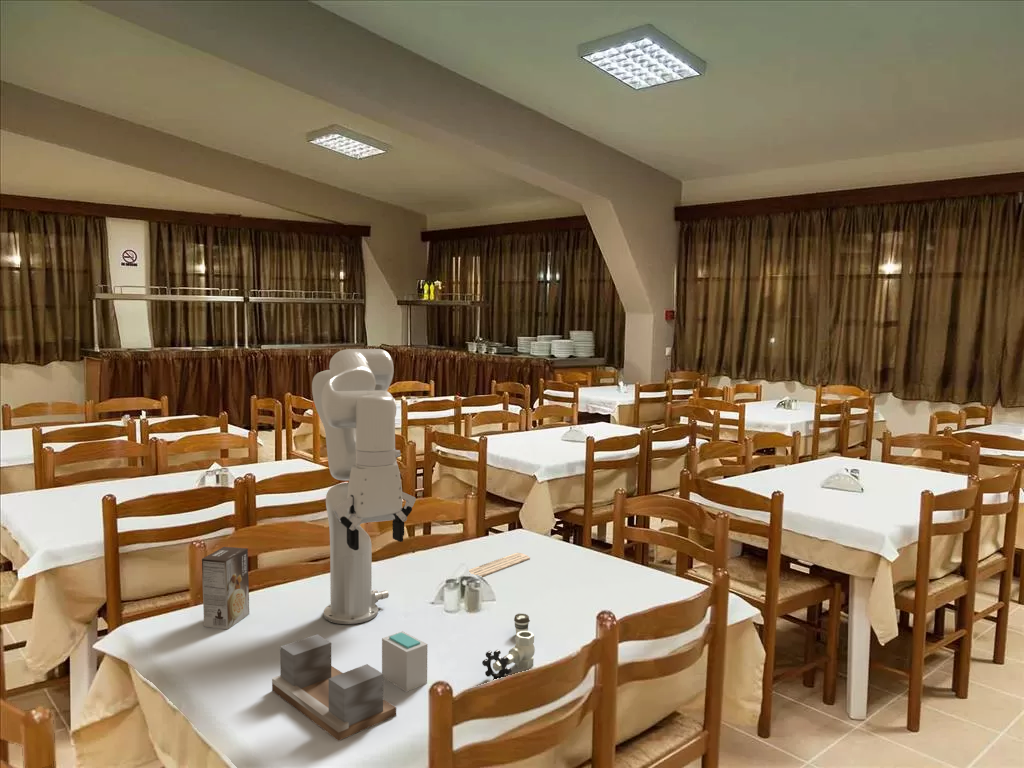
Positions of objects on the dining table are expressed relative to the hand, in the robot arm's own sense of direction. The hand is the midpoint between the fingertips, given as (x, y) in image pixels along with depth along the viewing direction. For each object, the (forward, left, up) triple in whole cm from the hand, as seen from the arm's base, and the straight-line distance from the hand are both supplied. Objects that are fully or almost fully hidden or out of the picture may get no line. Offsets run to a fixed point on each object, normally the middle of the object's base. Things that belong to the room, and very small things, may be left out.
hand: (376, 544), depth 153 cm
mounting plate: (+13, +4, -27) cm, 30 cm away
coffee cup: (-34, +7, -27) cm, 44 cm away
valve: (-21, +18, -27) cm, 38 cm away
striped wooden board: (-60, -29, -27) cm, 73 cm away
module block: (-2, +6, -27) cm, 27 cm away
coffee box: (+11, -44, -27) cm, 52 cm away
